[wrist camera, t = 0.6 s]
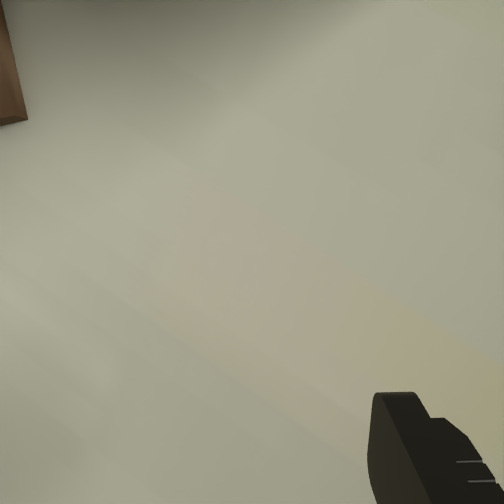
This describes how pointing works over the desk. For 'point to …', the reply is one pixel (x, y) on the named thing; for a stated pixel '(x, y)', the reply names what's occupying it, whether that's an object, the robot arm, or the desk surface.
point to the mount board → (9, 80)
